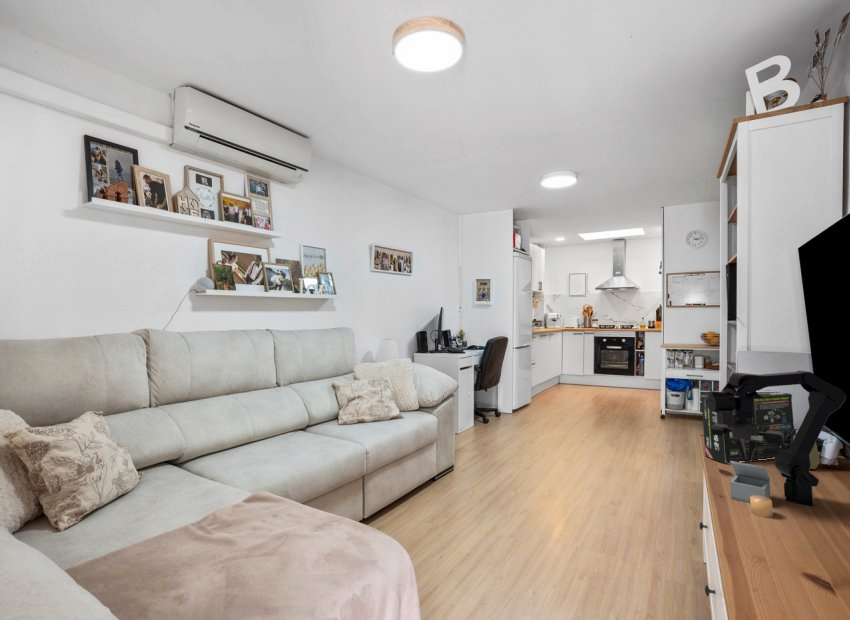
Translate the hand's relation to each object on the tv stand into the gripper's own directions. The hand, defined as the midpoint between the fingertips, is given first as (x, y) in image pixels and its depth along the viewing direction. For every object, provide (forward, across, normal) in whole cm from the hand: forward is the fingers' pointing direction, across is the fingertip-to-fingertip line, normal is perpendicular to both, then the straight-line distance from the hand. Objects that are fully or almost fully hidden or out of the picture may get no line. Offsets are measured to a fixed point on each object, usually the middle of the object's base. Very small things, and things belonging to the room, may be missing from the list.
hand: (747, 459), depth 138 cm
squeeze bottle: (+13, +10, +50) cm, 52 cm away
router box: (+13, -8, +52) cm, 54 cm away
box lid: (+5, 0, +3) cm, 5 cm away
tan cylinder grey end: (+13, +4, -10) cm, 17 cm away
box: (+13, 0, +2) cm, 13 cm away
